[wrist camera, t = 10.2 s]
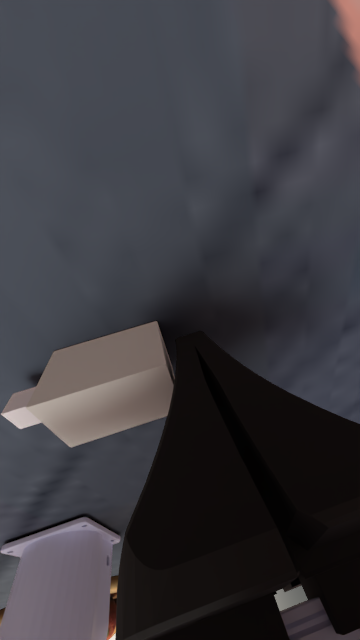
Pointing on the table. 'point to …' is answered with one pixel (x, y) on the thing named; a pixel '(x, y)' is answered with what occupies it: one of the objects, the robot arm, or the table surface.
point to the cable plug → (99, 387)
